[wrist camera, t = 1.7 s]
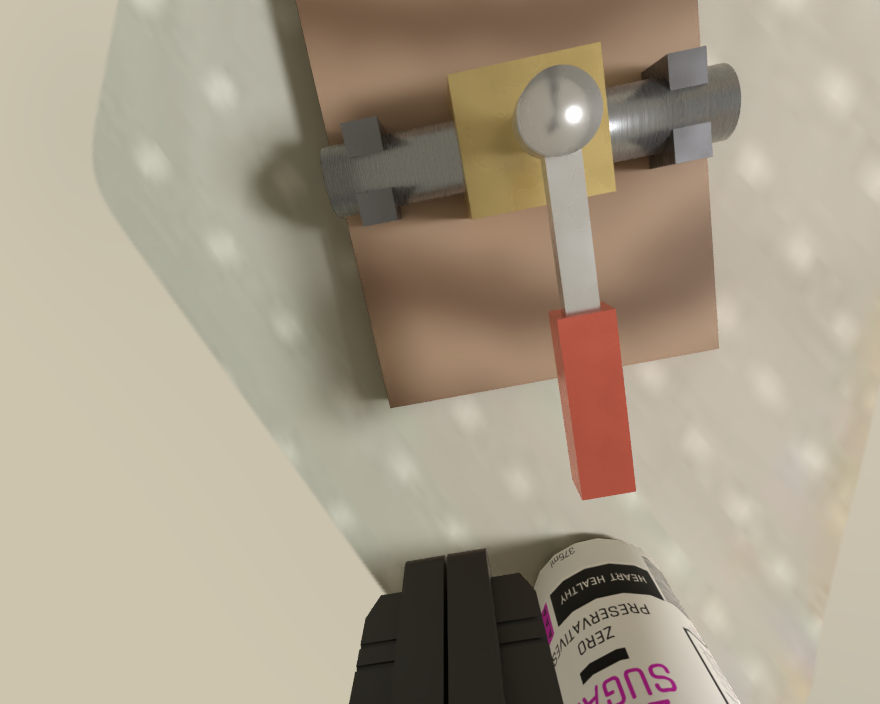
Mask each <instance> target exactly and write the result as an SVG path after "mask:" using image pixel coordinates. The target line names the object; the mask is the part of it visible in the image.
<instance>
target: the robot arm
mask: <svg viewBox="0 0 880 704" xmlns="http://www.w3.org/2000/svg"><path fill="white" fill-rule="evenodd" d="M356 667H357V672H355V676H354V681H353V687H352V692H351V697H350V702H349V704H564V703H563V699H562V695H561V691H560V687H559V683H558V679H557V675H556V670H555V666H554V662H553V658H552V654H551V650H550V646H549V642H548V638H547V634H546V630H545V626H544V622H543V618H542V614H541V610H540V605H539V601H538V597H537V593H536V591H535V590H534V588H533V587H532V586H531V585H530V584H529V583H528V582H527V581H526V580H525V578H524V577H523V576H522V575H521V574H520V573H515V574H509V575H503V576H497V577H492V575H491V570H490V565H489V560H488V555H487V551H486V548H484V549H478V550H472V551H466V552H460V553H454V554H448V555H447V559H446V556H445V555H443V556H437V557H431V558H425V559H419V560H413V561H407V562H406V564H405V570H404V579H403V588H402V592H399V593H393V594H387V595H381V596H380V598H379V599H378V601H377V602H376V604H375V605H374V607H373V608H372V610H371V611H370V613H369V614H368V616H367V617H366V619H365V624H364V629H363V635H362V640H361V649H360V650H359V655H358V661H357V666H356Z"/></svg>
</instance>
